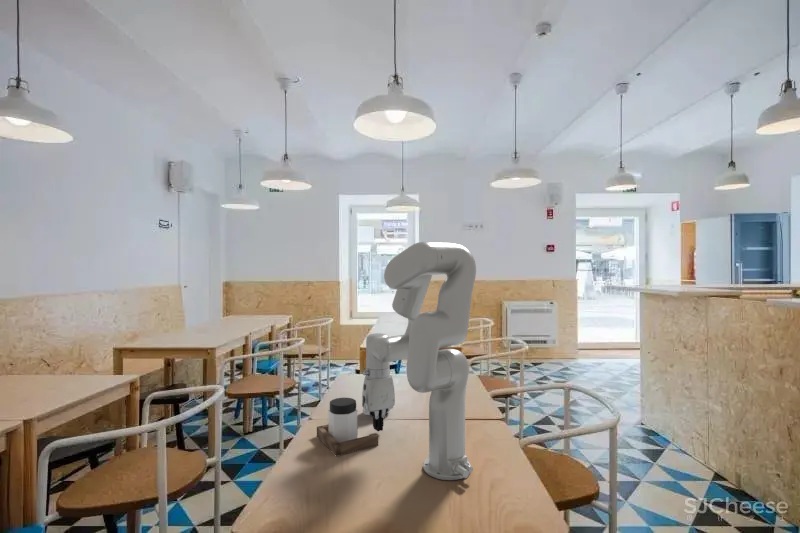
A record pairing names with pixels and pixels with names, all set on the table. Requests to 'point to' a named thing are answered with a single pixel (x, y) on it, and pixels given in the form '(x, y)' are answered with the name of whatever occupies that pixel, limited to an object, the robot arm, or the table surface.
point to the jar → (342, 419)
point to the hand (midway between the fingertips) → (378, 429)
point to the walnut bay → (345, 442)
